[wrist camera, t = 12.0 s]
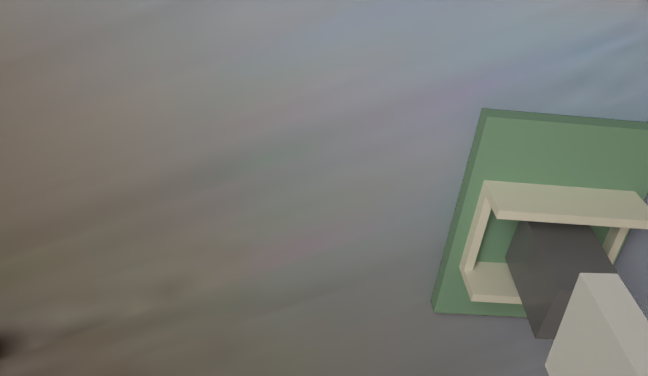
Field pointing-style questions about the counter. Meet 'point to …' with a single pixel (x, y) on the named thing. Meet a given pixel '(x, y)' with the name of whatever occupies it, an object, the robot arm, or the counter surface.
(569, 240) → the plug
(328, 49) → the counter surface
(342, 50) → the counter surface
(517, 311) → the board
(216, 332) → the counter surface
